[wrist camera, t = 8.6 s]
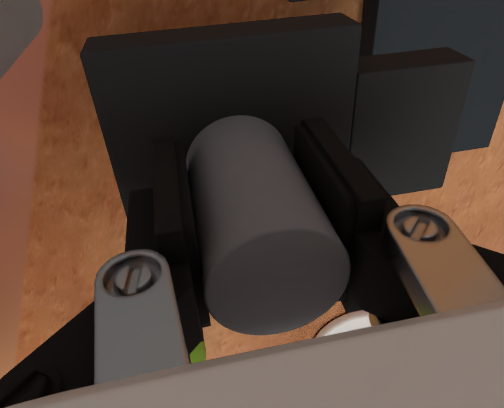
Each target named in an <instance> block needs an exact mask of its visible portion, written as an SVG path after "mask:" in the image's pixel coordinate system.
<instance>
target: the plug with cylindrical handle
mask: <svg viewBox="0 0 504 408" xmlns="http://www.w3.org/2000/svg"><path fill="white" fill-rule="evenodd" d="M361 30H362V26H361V24H360V23H358V22H356V21H354V20H353V19H351V18H349V17H347V16H346V15H344V14H342V13H331V14H321V15H311V16H301V17H291V18H280V19H270V20H260V21H250V22H240V23H230V24H219V25H209V26H199V27H189V28H179V29H169V30H159V31H148V32H138V33H128V34H118V35H108V36H98V37H89V38H87V40H86V42H85V44H84V47H83V49H82V51H81V53H80V58H81V61H82V64H83V68H84V71H85V75H86V78H87V82H88V85H89V89H90V92H91V96H92V99H93V102H94V106H95V109H96V113H97V116H98V120H99V123H100V127H101V130H102V134H103V137H104V140H105V144H106V147H107V151H108V154H109V158H110V161H111V165H112V168H113V172H114V175H115V178H116V182H117V185H118V189H119V192H120V196H121V199H122V203H123V206H124V210H125V213H126V217H127V216H128V202H129V192H130V191H132V190H139V189H146V188H153V139H157V138H165V137H172V136H173V137H174V141H175V142H176V141H182V142H183V147H184V154H185V160H186V166H187V172H188V178H189V185H190V193H191V200H192V207H193V214H194V221H195V228H196V235H197V242H198V249H199V256H200V263H201V271H202V290H203V297H204V302H205V305H206V307H207V309H208V311H209V313H210V314H211V315H212V317H213V318H214V319H215V320H216V321H217V322H218V323H220V324H221V325H223V326H224V327H226V328H228V329H230V330H232V331H235V332H238V333H243V334H249V335H272V334H278V333H283V332H287V331H290V330H294V329H297V328H299V327H301V326H304V325H306V324H308V323H310V322H312V321H314V320H315V319H317V318H318V317H320V316H321V315H323V314H324V313H325V312H327V311H328V310H329V309H330V308H331V307H332V306H333V305H334V304H335V303H336V302H337V301H338V300H339V298H340V297H341V295H342V294H343V292H344V291H345V289H346V287H347V284H348V282H349V278H350V270H351V264H350V258H349V255H348V252H347V250H346V249H345V247H344V245H343V243H342V242H341V240H340V238H339V236H338V234H337V233H336V231H335V229H334V227H333V226H332V224H331V222H330V220H329V219H328V217H327V215H326V213H325V212H324V210H323V208H322V206H321V204H320V203H319V201H318V199H317V197H316V196H315V194H314V192H313V190H312V189H311V187H310V185H309V183H308V182H307V180H306V178H305V176H304V174H303V173H302V171H301V169H300V167H299V166H298V164H297V162H296V160H295V159H294V157H293V151H294V127H295V126H296V125H300V122H301V120H302V119H309V118H317V117H323V118H324V119H325V121H326V122H327V123H328V124H329V126H330V127H331V128H332V129H333V131H334V132H335V133H336V134H337V136H338V137H339V138H340V139H341V141H342V142H343V143H344V144H345V146H346V147H347V148H348V149H349V150H350V152H351V153H352V154H353V155H354V157H355V158H359V159H360V160H362V162H363V163H364V164H365V165H366V166H367V168H368V169H369V170H370V171H371V173H372V174H373V175H374V176H375V177H376V179H377V180H378V181H379V182H380V184H381V185H382V186H383V187H384V188H385V190H386V191H387V192H388V193H389V195H390V196H392V195H398V194H404V193H411V192H417V191H423V190H429V189H435V188H441V187H442V186H443V183H444V179H445V175H446V172H447V168H448V164H449V161H450V157H451V153H452V150H453V146H454V142H455V139H456V135H457V131H458V128H459V124H460V120H461V117H462V113H463V109H464V106H465V102H466V98H467V95H468V91H469V87H470V84H471V80H472V76H473V72H474V69H475V65H476V60H474V59H472V58H470V57H468V56H466V55H463V54H461V53H459V52H457V51H455V50H453V49H451V48H449V47H440V48H431V49H423V50H414V51H405V52H396V53H388V54H379V55H370V56H361V57H359V49H360V40H361Z"/></svg>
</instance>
